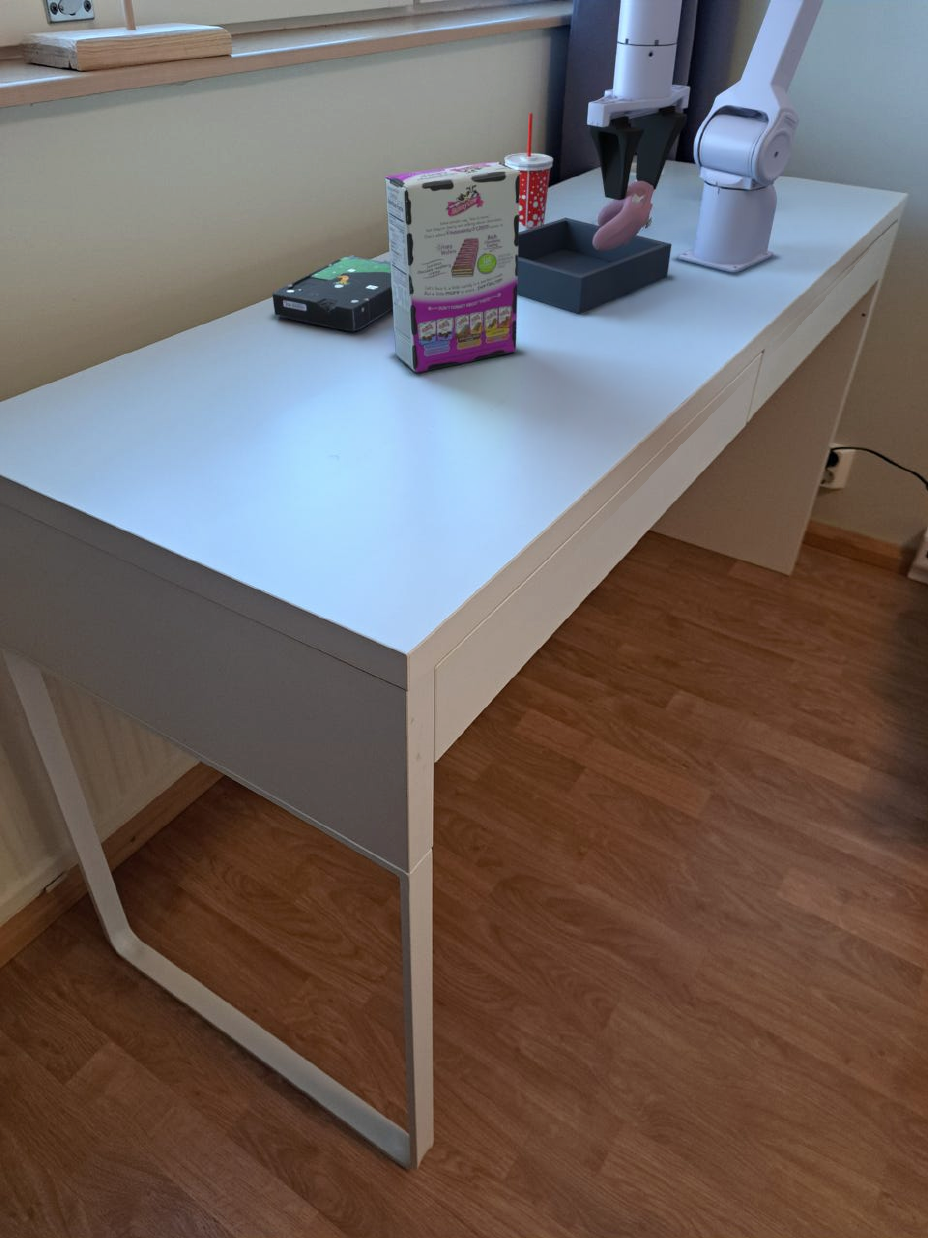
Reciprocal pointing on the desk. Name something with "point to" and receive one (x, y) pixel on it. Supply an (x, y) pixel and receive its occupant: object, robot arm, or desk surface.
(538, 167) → the beverage cup
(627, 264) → the bin
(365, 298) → the disk drive
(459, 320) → the candy bar box
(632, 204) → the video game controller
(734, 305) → the desk surface
